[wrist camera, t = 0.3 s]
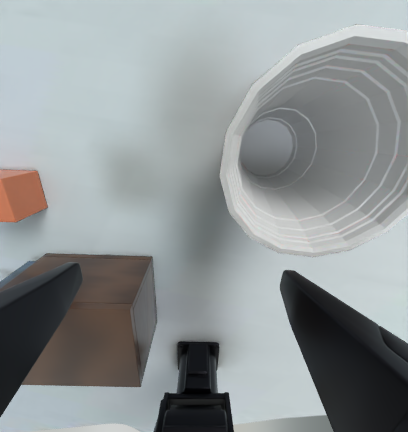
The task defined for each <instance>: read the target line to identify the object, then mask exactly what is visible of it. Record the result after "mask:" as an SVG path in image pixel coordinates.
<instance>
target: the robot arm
mask: <svg viewBox="0 0 408 432" xmlns="http://www.w3.org/2000/svg"><path fill="white" fill-rule="evenodd" d="M82 282H83V276H82V271H81V267H80V264H79V263H77V262H68V263H65V264H63V265H61V266H58V267H56V268H54V269H51V270H49V271H47V272H44V273H42V274H40V275H38V276H35V277H33V278H31V279H28V280H26V281H24V282H21V283H19V284H17V285H14V286H12V287H10V288H7V289H5V290H3V291H1V292H0V417H1V415H2V414H3V412H4V411H5V409H6V408H7V406H8V405H9V403H10V401H11V400H12V398H13V397H14V395H15V394H16V392H17V391H18V389H19V387H20V386H21V384H22V383H23V381H24V380H25V378H26V377H27V375H28V373H29V372H30V370H31V369H32V367H33V366H34V364H35V362H36V361H37V359H38V358H39V356H40V355H41V353H42V352H43V350H44V348H45V347H46V345H47V344H48V342H49V341H50V339H51V338H52V336H53V334H54V333H55V331H56V330H57V328H58V327H59V325H60V323H61V322H62V320H63V319H64V317H65V315H66V313H67V312H68V310H69V308H70V306H71V304H72V302H73V300H74V298H75V296H76V294H77V292H78V290H79V288H80V286H81V284H82ZM280 291H281V294H282V298H283V301H284V305H285V308H286V312H287V315H288V319H289V322H290V325H291V327H292V330H293V332H294V335H295V337H296V340H297V342H298V345H299V347H300V350H301V352H302V355H303V357H304V360H305V362H306V365H307V367H308V369H309V372H310V374H311V377H312V379H313V382H314V384H315V387H316V389H317V392H318V394H319V397H320V399H321V402H322V404H323V406H324V409H325V411H326V414H327V416H328V419H329V421H330V424H331V426H332V429H333V431H334V432H408V343H406V342H405V341H403V340H401V339H400V338H398V337H397V336H395V335H393V334H392V333H390V332H389V331H387V330H386V329H384V328H383V327H381V326H378V324H376V323H375V322H373V321H372V320H370V319H368V318H367V317H365V316H364V315H362V314H361V313H359V312H358V311H356V310H354V309H353V308H351V307H350V306H348V305H347V304H345V303H344V302H342V301H340V300H339V299H337V298H336V297H334V296H333V295H331V294H330V293H328V292H326V291H325V290H323V289H322V288H320V287H319V286H317V285H316V284H314V283H312V282H311V281H309V280H308V279H306V278H305V277H303V276H302V275H300V274H298V273H297V272H295V271H293V270H285V271H284V272H283V274H282V279H281V283H280ZM218 357H219V343H214V342H179V343H178V370H179V376H178V385H177V393H165V395H164V399H163V400H161V403H160V409H159V415H158V419H157V422H156V426H155V429H154V432H234V430H233V422H232V414H231V407H230V399H229V393H228V392H225V393H218V390H217V367H218Z"/></svg>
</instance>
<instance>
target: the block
mask: <svg viewBox="0 0 408 432" xmlns="http://www.w3.org/2000/svg"><path fill="white" fill-rule="evenodd" d="M46 208H47V204H46V200H45V197H44V193H43V189H42V186H41V182H40V179H39V175H38V172H37V171H26V170H0V222H18V221H20V220H22V219H24V218H26V217H28V216H30V215H33V214H35V213H37V212H39V211H41V210H43V209H46Z"/></svg>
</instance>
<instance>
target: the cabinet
mask: <svg viewBox="0 0 408 432" xmlns="http://www.w3.org/2000/svg"><path fill="white" fill-rule="evenodd" d="M68 262H77V263H79V264H80V267H81V271H82V276H83V282H82V284H81V286H80V288H79V290H78V292H77V294H76V296H75V298H74V300H73V302H72V304H71V306H70V308H69V310H68V312H67V313H66V315H65V317H64V319H63V320H62V322H61V323H60V325H59V327H58V328H57V330H56V331H55V333H54V334H53V336H52V338H51V339H50V341H49V342H48V344H47V345H46V347H45V348H44V350H43V352H42V353H41V355H40V356H39V358H38V359H37V361H36V362H35V364H34V366H33V367H32V369H31V370H30V372H29V373H28V375H27V377H26V378H25V380H24V381H23V383H22V384H21V385H61V386H110V387H141V384H142V379H143V376H144V372H145V368H146V364H147V360H148V356H149V352H150V348H151V344H152V340H153V336H154V332H155V328H156V324H157V314H156V300H155V287H154V273H153V259H152V257H145V256H111V255H77V254H45V255H44V256H43V257H41V258H40V259H39V260H37V261H36V262H35V263H33V264H32V265H31V266H29V267H28V268H27V269H25V270H24V271H23V272H21V273H20V274H19V275H17V276H16V277H15V278H13V279H12V280H11V281H9V282H8V283H7V284H5V285H4V286H3V287H1V288H0V292H1V291H3V290H5V289H7V288H10V287H12V286H14V285H17V284H19V283H21V282H24V281H26V280H28V279H31V278H33V277H35V276H38V275H40V274H42V273H44V272H47V271H49V270H51V269H54V268H56V267H58V266H61V265H63V264H65V263H68Z"/></svg>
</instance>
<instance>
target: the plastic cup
mask: <svg viewBox="0 0 408 432" xmlns="http://www.w3.org/2000/svg"><path fill="white" fill-rule="evenodd" d="M219 177H220V180H221V184H222V188H223V192H224V196H225V200H226V204H227V208H228V211H229V213H230V214H231V216H232V217H233V218H234V219H235V221H236V222H237V223H238V224H239V225H240V227H241V228H242V229H243V230H244V232H245V233H246V234H247V235H248V237H249V238H251V239H253V240H254V241H256V242H258V243H260V244H262V245H264V246H266V247H268V248H270V249H272V250H274V251H276V252H277V253H282V254H290V255H299V256H307V257H317V256H322V255H328V254H333V253H338V252H344V251H349V250H352V249H354V248H356V247H358V246H360V245H362V244H364V243H366V242H368V241H370V240H372V239H374V238H376V237H379V236H381V235H383V234H385V233H387V232H389V231H390V230H391V229H392V228H393V227H394V226H395V225H397V224H398V223H399V222H400V221H401V220H402V219H403V218H405V217H406V216H407V215H408V31H407V30H399V29H391V28H383V27H375V26H367V25H359V24H355V25H352V26H349V27H347V28H344V29H341V30H338V31H335V32H333V33H330V34H327V35H324V36H321V37H319V38H316V39H313V40H310V41H307V42H304V43H302V44H299V45H297V46H296V47H295V48H294V49H293V50H291V51H290V52H289V53H288V54H287V55H286V56H285V57H283V58H282V59H281V60H280V61H279V62H278V63H277V64H275V65H274V66H273V67H272V68H271V69H270V70H269V71H267V72H266V73H265V74H264V75H263V76H262V77H261V78H259V79H258V80H257V81H256V82H255V83H254V84H253V85H252V86H251V88H250V89H249V91H248V93H247V95H246V97H245V98H244V100H243V102H242V104H241V106H240V107H239V109H238V111H237V113H236V115H235V116H234V118H233V120H232V122H231V124H230V125H229V127H228V129H227V131H226V135H225V141H224V148H223V155H222V162H221V168H220V175H219Z"/></svg>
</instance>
